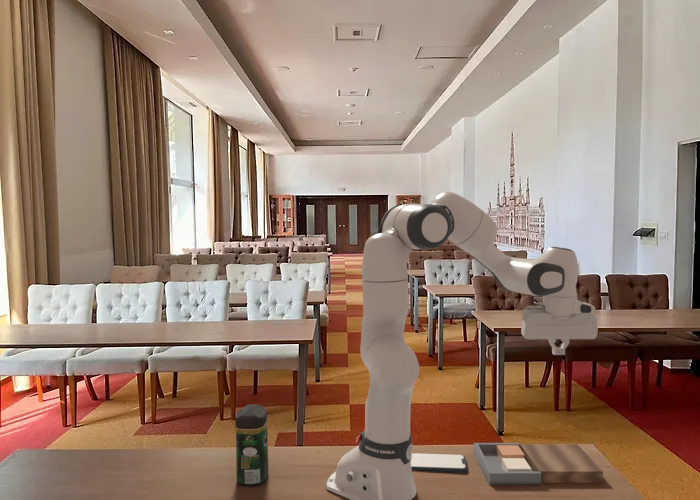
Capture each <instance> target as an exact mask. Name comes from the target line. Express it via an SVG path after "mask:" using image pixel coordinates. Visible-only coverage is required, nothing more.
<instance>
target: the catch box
mask: <svg viewBox="0 0 700 500" xmlns="http://www.w3.org/2000/svg"><path fill="white" fill-rule="evenodd" d="M497 445H518V446H519V448H520V449H521V443H520V442H473V454H474V456H475V458H476V460H477V462H478V464H479V467H480V469H481V470H482V472H483V474H484V477H485V479H486V482H487V483H488V485H489V486H490V485H491V486H497V485H498V486H519V485H520V486H526V485H527V486H531V485H532V486H535V485H536V486H541V485H542V483H541V472H540V471H533V470H532V469H531V471H503V469H502V462H501V461H500V459H499V457H498V456H497ZM528 465H529V464H528ZM530 468H531V467H530Z"/></svg>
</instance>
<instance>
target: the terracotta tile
mask: <svg viewBox="0 0 700 500" xmlns="http://www.w3.org/2000/svg"><path fill="white" fill-rule="evenodd" d="M497 456H498V457H499V459H500V461H501V462H502V458H524V459H525V455H524V453H523V452H522V450H521V449H520V448H519V446H518V445H497Z"/></svg>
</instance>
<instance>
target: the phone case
mask: <svg viewBox="0 0 700 500" xmlns="http://www.w3.org/2000/svg"><path fill="white" fill-rule="evenodd" d="M411 466H412V471H414V470H415V471H418V472H431V473H432V472H434V473H435V472H436V473H438V472H439V473H452V474H453V473H455V474H465V473H467V472H468V465H467V459H466V457H465V455H464V454H449V453H422V452H421V453H418V452H415V453H414V452H412V458H411Z"/></svg>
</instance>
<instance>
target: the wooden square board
mask: <svg viewBox="0 0 700 500" xmlns="http://www.w3.org/2000/svg"><path fill="white" fill-rule="evenodd" d="M520 444H521V443H520ZM521 450H522V452H523V453H524V455H525V460H526V462H527V463H528V464H529V466H530V467H531V469H532V470H533V471H540V472H541V484H548V483H549V484H556V483H557V484H565V483H566V484H603V483H604V470H602V469H601V467H600V466H599V465H598V464H597V463H595V461H594V460H593V459H592V458H591V457H590V456H589V455H588V454H587V453H586V452H585V450H583V449H582V448H581V447H580V446H579V444H577V443H576V444H569V443H568V444H567V443H566V444H563V443H562V444H547V443H545V444H544V443H543V444H537V443H536V444H531V443H530V444H527V443H526V444H521Z"/></svg>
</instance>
